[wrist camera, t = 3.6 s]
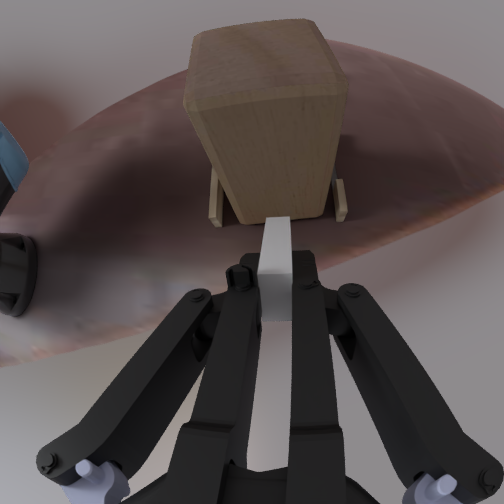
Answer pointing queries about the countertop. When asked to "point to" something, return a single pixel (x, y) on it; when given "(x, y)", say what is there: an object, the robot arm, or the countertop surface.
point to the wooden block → (268, 115)
